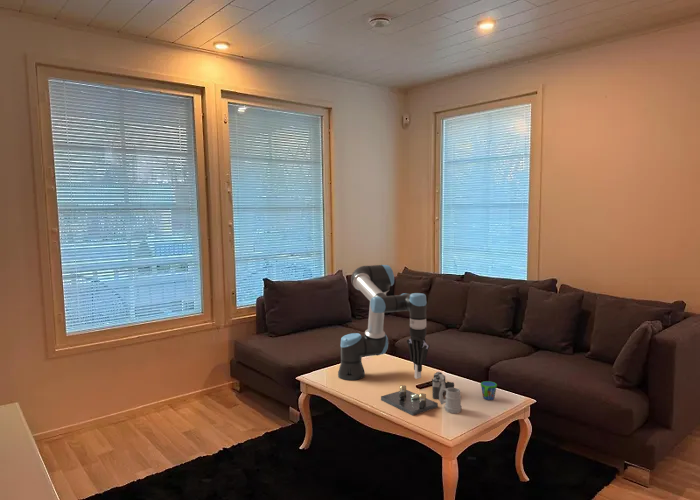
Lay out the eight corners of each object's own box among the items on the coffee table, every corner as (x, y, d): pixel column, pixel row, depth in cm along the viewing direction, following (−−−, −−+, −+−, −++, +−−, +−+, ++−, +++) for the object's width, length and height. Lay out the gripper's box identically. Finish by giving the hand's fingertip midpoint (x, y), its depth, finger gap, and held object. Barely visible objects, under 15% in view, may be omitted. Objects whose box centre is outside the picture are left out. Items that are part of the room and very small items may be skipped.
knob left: (398, 400, 241) (398, 391, 240) (400, 392, 250) (400, 385, 250) (404, 400, 240) (404, 392, 240) (406, 393, 249) (406, 385, 249)
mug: (455, 415, 228) (455, 389, 227) (434, 408, 236) (434, 383, 235) (464, 410, 233) (465, 385, 232) (444, 403, 241) (444, 379, 240)
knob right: (418, 409, 229) (418, 400, 229) (419, 401, 238) (419, 393, 238) (425, 409, 228) (425, 401, 228) (426, 401, 238) (426, 393, 238)
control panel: (381, 400, 247) (380, 392, 246) (405, 393, 256) (405, 385, 255) (412, 415, 228) (412, 407, 228) (437, 407, 237) (437, 399, 237)
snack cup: (485, 393, 254) (485, 378, 254) (500, 396, 250) (500, 381, 249) (476, 400, 245) (476, 385, 244) (492, 403, 240) (492, 388, 240)
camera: (452, 400, 245) (452, 380, 244) (431, 398, 248) (431, 379, 247) (454, 389, 260) (454, 371, 259) (435, 388, 263) (435, 369, 262)
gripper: (402, 325, 231) (402, 375, 233) (421, 331, 221) (421, 383, 223) (414, 323, 235) (414, 372, 238) (434, 329, 225) (433, 380, 227)
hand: (417, 377), depth 230 cm, fingers closed
